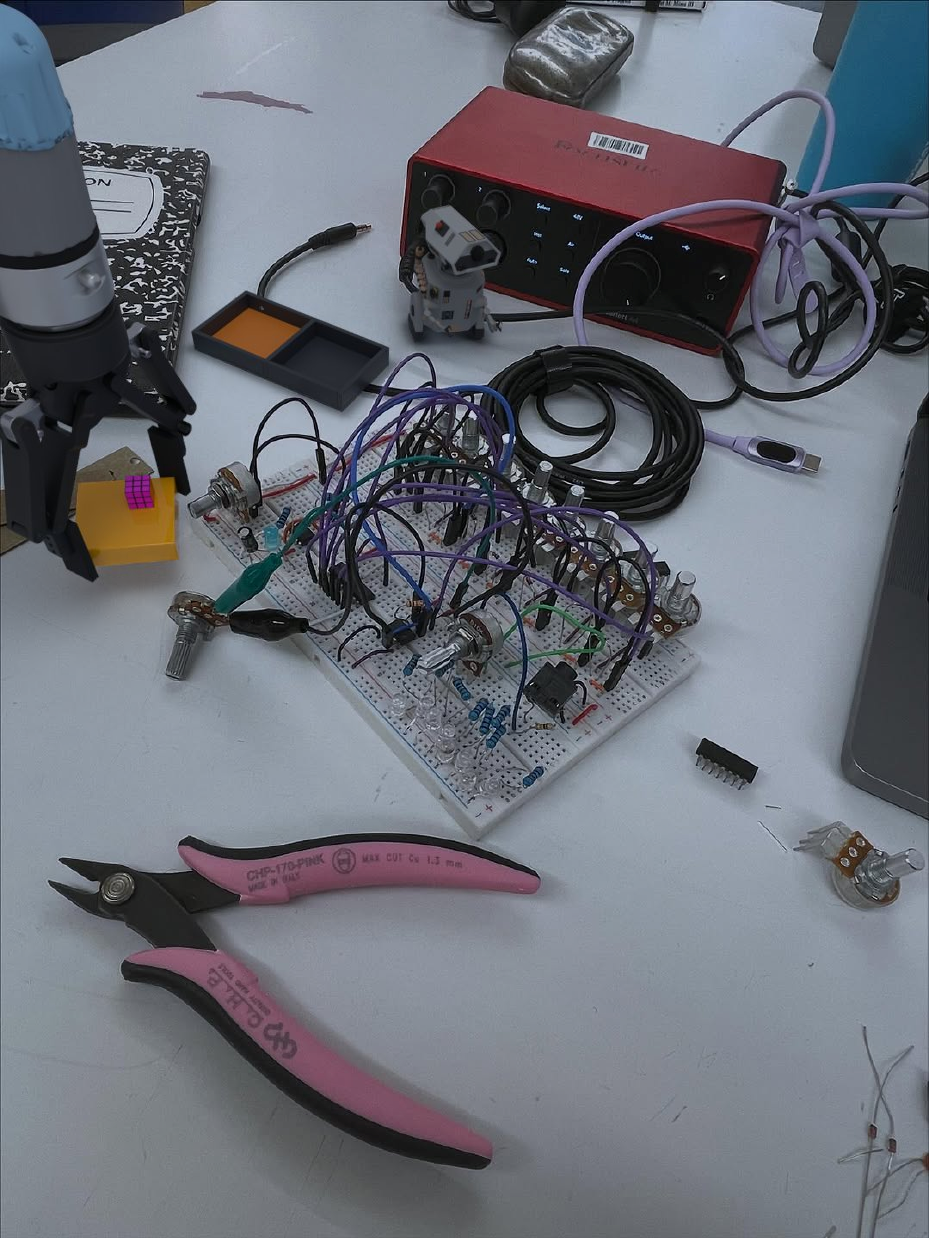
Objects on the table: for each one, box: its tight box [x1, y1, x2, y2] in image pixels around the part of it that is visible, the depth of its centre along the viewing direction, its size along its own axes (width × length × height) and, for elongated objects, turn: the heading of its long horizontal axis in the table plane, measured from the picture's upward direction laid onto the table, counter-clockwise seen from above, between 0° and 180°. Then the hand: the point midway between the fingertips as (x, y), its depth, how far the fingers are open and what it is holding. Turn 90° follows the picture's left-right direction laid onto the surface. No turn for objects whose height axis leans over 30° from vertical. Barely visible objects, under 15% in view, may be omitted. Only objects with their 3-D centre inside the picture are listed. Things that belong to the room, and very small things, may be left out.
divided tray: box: [190, 289, 390, 412], centre depth 92 cm, size 20×10×2 cm, turn 63°
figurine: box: [407, 204, 503, 342], centre depth 92 cm, size 9×12×15 cm
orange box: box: [74, 474, 180, 568], centre depth 67 cm, size 8×8×4 cm
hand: (131, 528), depth 69 cm, fingers closed on orange box, 11 cm apart
